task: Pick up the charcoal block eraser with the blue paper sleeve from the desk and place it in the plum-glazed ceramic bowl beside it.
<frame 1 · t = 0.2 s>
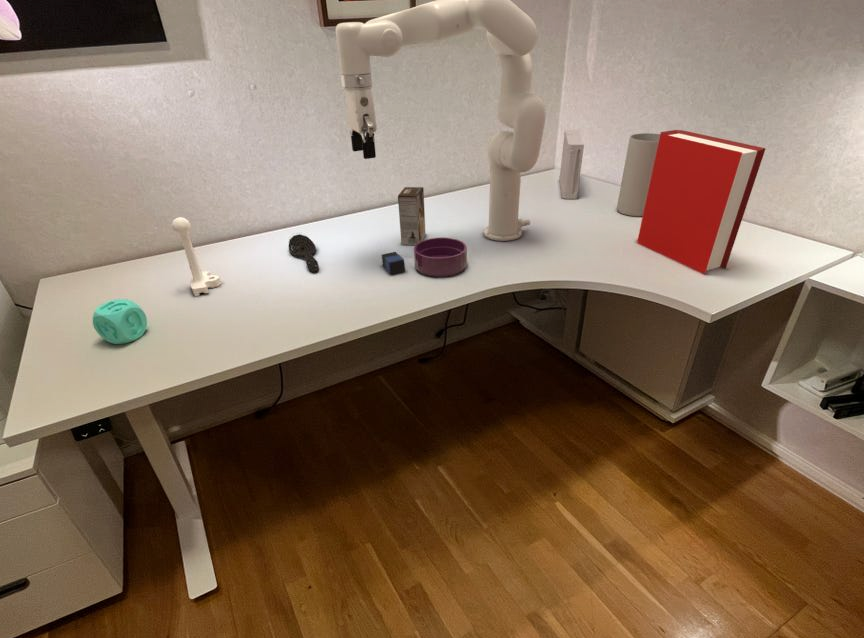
hand: (363, 154, 135), 31 cm above the table, tool pointing down, fingers open, 9 cm apart
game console: (567, 189, 206), on the table
bowl: (440, 266, 148), on the table
eraser: (393, 269, 148), on the table
cylinder vase: (634, 211, 182), on the table
coffee box: (413, 240, 166), on the table
hairbrush: (307, 258, 157), on the table
joystick: (207, 286, 143), on the table
book: (676, 254, 150), on the table
decorative dice: (127, 336, 122), on the table
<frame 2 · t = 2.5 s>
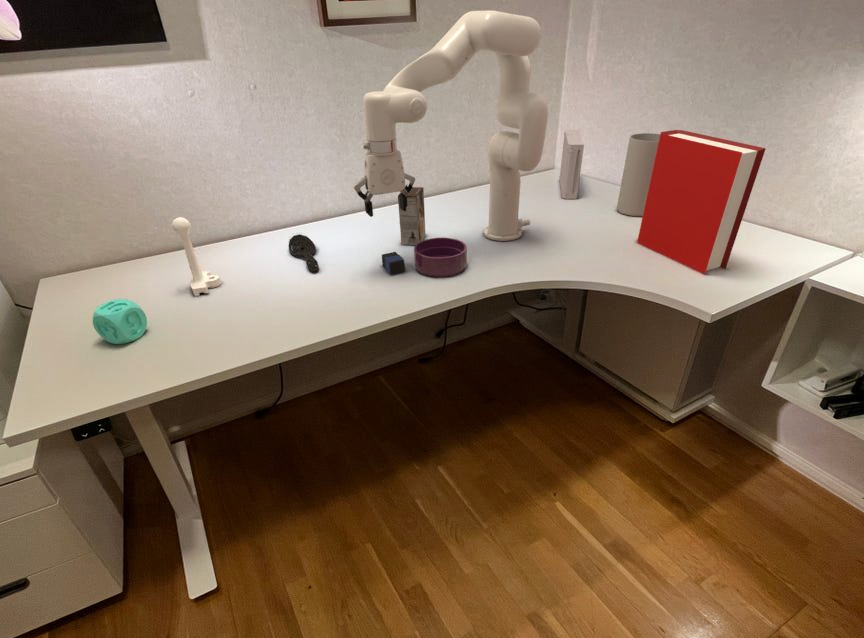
hand: (386, 212, 138), 17 cm above the table, tool pointing down, fingers open, 9 cm apart
nothing on the table moved.
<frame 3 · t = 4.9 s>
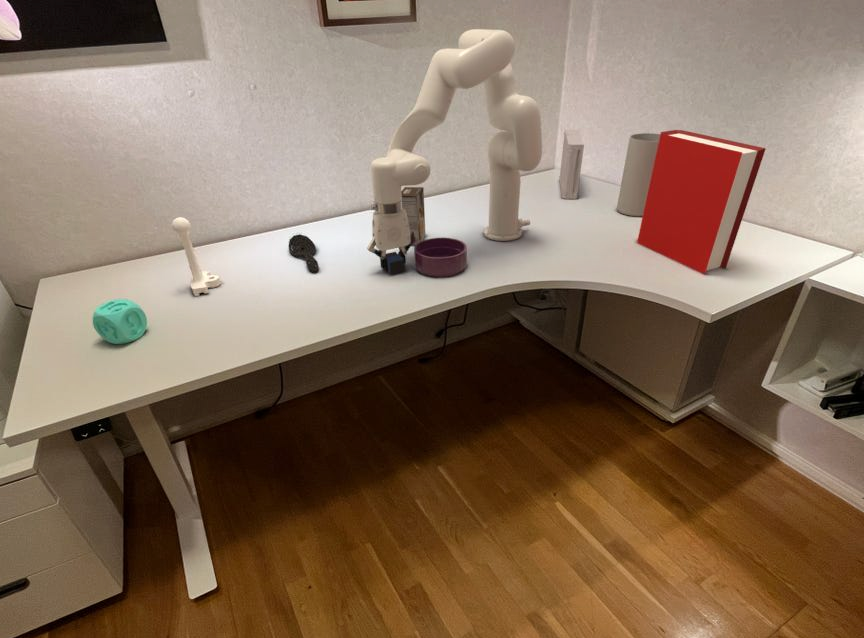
hand: (393, 267, 147), 1 cm above the table, tool pointing down, fingers closed on eraser, 4 cm apart
eraser: (393, 269, 148), on the table, touching gripper
everything else where it was.
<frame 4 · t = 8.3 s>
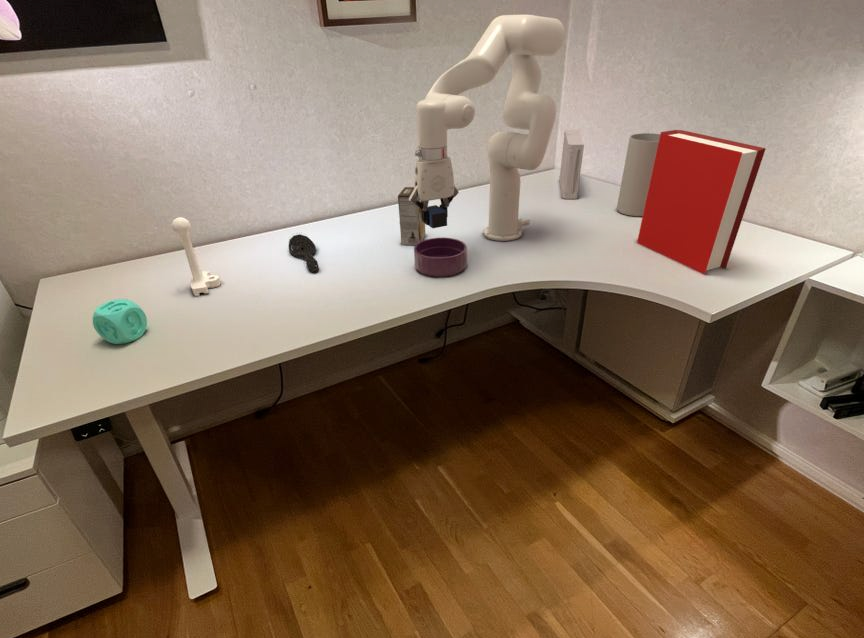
hand: (434, 221, 140), 14 cm above the table, tool pointing down, fingers closed on eraser, 4 cm apart
eraser: (434, 223, 140), point 13 cm above the table, touching gripper
everything else where it was.
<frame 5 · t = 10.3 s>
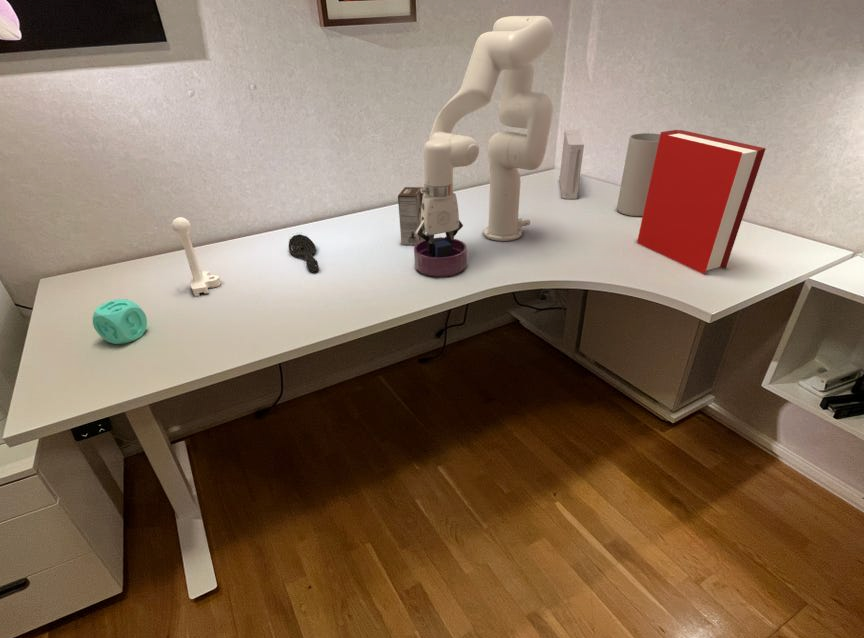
hand: (439, 252, 145), 4 cm above the table, tool pointing down, fingers closed on eraser, 4 cm apart
eraser: (439, 254, 146), point 4 cm above the table, touching gripper
everything else where it was.
when the fingers open (1 cm above the table, at t = 11.6 s): eraser stays where it is, resting on bowl.
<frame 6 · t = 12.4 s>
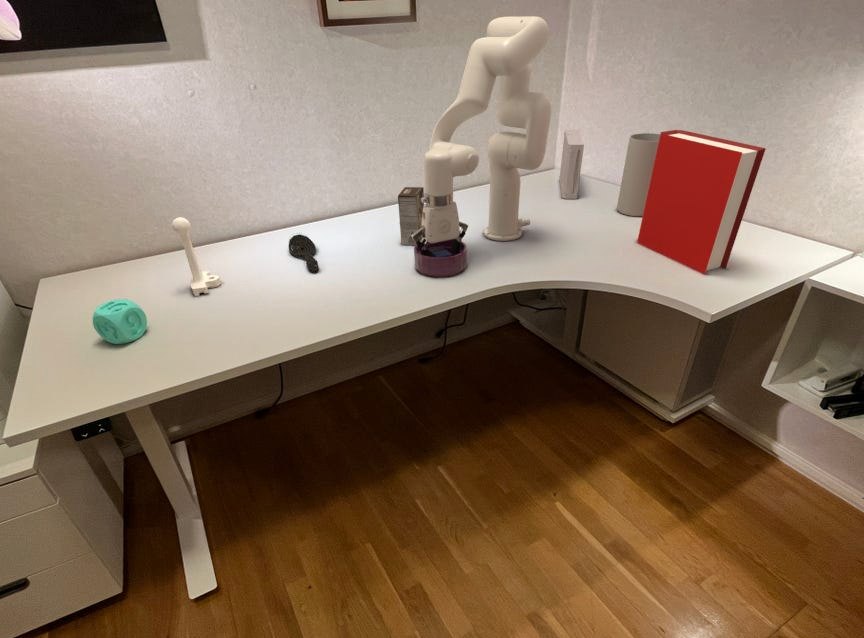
hand: (440, 257, 147), 3 cm above the table, tool pointing down, fingers open, 9 cm apart
eraser: (440, 264, 148), point 1 cm above the table, touching bowl
everything else where it was.
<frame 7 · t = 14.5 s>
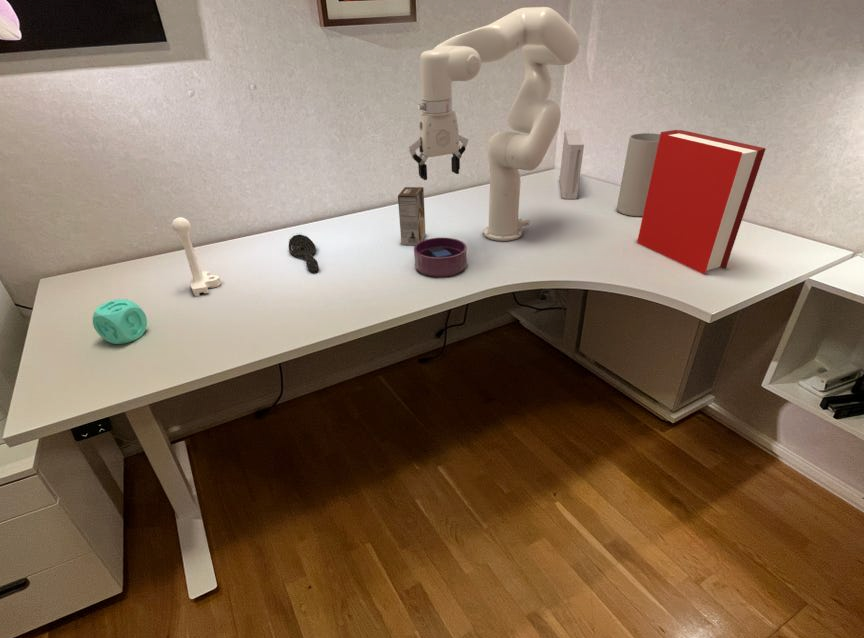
hand: (439, 175, 138), 25 cm above the table, tool pointing down, fingers open, 9 cm apart
nothing on the table moved.
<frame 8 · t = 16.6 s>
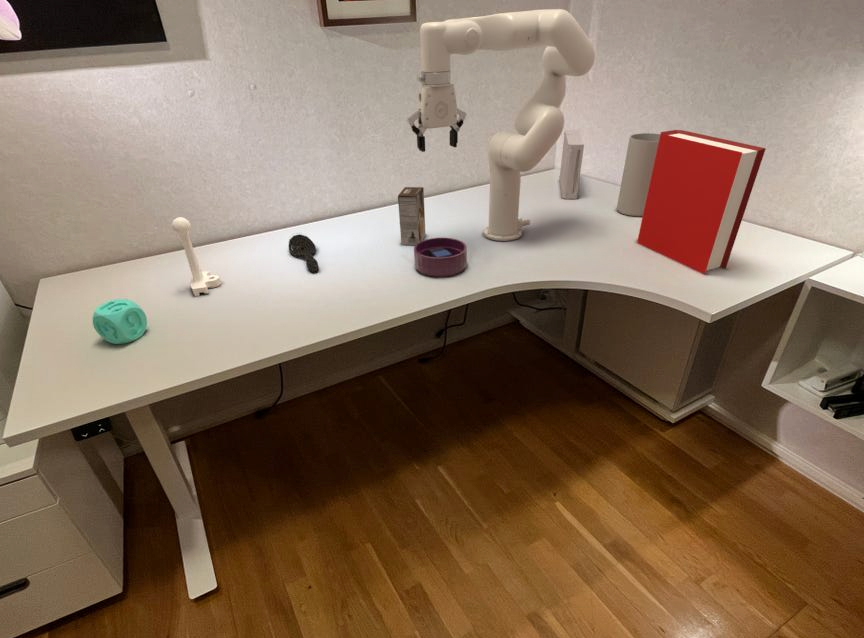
hand: (437, 148, 141), 30 cm above the table, tool pointing down, fingers open, 9 cm apart
nothing on the table moved.
at the end: eraser inside the target area in the bowl (0.2 cm from its centre), point 0.8 cm above the bowl's base; eraser tilted 0°; the gripper is holding nothing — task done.
